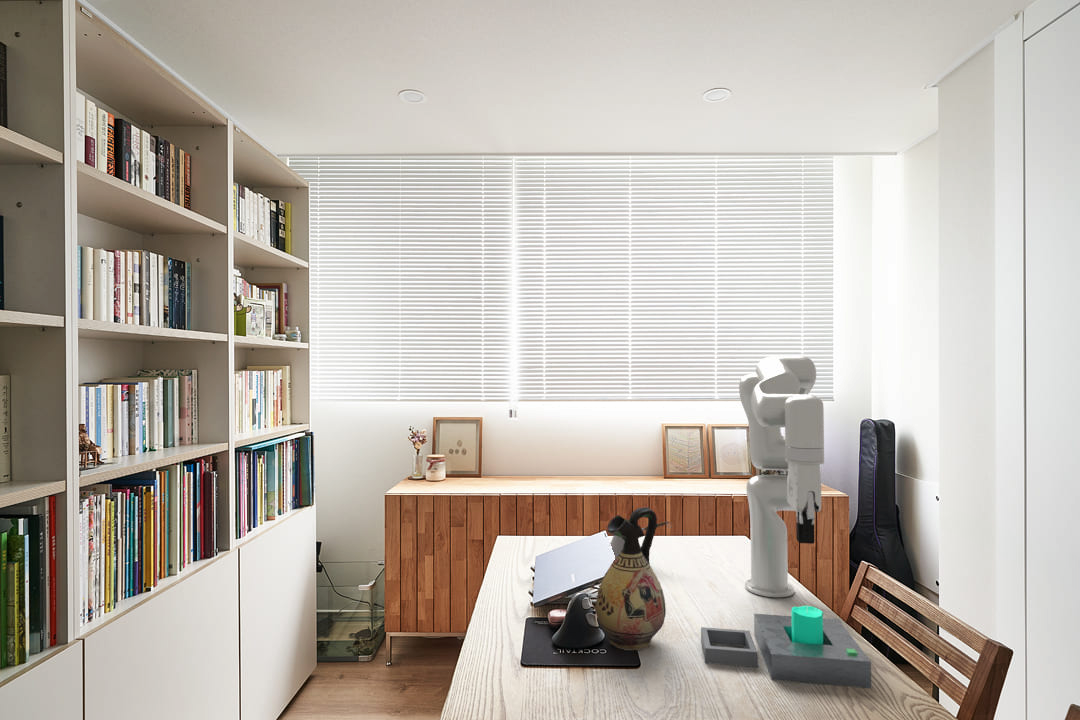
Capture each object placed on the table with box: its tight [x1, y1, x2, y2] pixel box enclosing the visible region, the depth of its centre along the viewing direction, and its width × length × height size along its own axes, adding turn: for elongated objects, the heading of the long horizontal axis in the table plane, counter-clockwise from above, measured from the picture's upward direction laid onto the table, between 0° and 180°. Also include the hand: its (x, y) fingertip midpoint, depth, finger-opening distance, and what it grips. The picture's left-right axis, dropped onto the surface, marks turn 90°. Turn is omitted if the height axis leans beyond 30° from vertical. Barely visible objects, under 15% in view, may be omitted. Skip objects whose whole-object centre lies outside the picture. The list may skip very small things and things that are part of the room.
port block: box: [753, 613, 872, 689], centre depth 125 cm, size 20×18×6 cm
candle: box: [790, 605, 824, 645], centre depth 124 cm, size 6×6×12 cm
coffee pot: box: [609, 518, 672, 559], centre depth 188 cm, size 21×12×15 cm, turn 54°
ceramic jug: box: [595, 507, 667, 651], centre depth 134 cm, size 17×15×30 cm
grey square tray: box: [700, 626, 759, 668], centre depth 128 cm, size 10×10×3 cm
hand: (805, 542), depth 126 cm, fingers closed
